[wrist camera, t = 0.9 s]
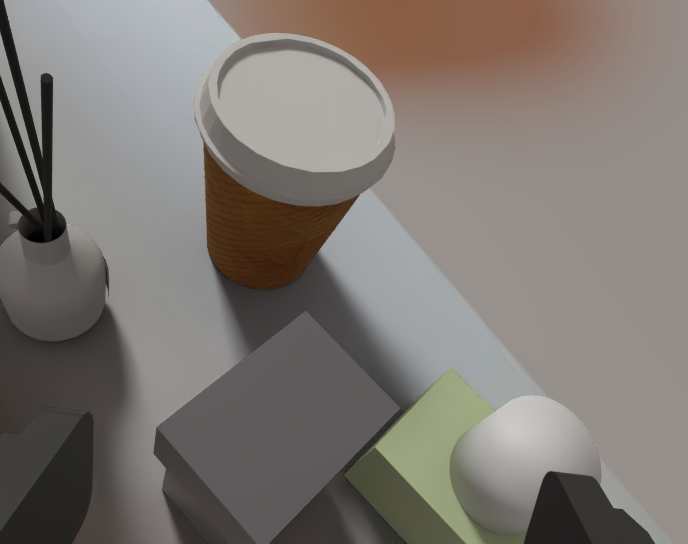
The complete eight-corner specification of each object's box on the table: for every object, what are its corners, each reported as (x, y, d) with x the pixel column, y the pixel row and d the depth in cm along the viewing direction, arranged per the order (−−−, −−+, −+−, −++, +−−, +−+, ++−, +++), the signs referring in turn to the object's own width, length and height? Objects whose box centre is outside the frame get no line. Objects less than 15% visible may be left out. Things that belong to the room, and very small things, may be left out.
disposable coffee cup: (260, 346, 34) (313, 219, 25) (143, 233, 36) (148, 72, 26) (365, 254, 40) (442, 120, 30) (258, 159, 41) (298, 3, 31)
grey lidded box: (147, 501, 29) (156, 427, 20) (256, 408, 32) (305, 310, 23) (219, 587, 28) (262, 550, 19) (323, 481, 31) (400, 408, 22)
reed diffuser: (142, 358, 32) (157, 43, 16) (-1, 422, 29) (-170, 102, 12) (63, 209, 35) (7, -182, 19) (-75, 250, 32) (-287, -185, 16)
